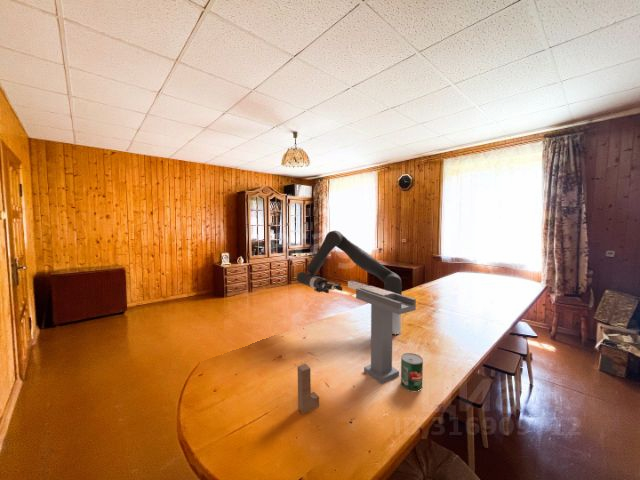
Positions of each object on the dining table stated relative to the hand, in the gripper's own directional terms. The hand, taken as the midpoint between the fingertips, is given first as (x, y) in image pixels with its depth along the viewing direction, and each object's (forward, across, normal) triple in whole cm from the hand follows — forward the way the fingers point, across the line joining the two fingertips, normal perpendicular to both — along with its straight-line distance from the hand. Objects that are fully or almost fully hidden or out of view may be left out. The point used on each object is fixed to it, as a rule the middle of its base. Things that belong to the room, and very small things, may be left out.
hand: (335, 290), depth 135 cm
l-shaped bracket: (+35, -35, +28) cm, 57 cm away
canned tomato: (+45, +4, +28) cm, 54 cm away
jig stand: (+33, 0, +28) cm, 44 cm away
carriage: (+25, 0, -4) cm, 25 cm away
